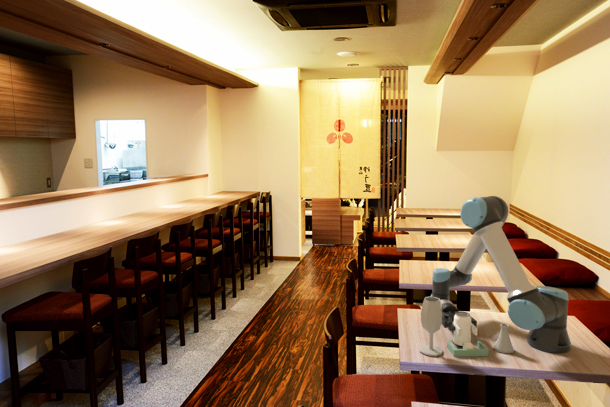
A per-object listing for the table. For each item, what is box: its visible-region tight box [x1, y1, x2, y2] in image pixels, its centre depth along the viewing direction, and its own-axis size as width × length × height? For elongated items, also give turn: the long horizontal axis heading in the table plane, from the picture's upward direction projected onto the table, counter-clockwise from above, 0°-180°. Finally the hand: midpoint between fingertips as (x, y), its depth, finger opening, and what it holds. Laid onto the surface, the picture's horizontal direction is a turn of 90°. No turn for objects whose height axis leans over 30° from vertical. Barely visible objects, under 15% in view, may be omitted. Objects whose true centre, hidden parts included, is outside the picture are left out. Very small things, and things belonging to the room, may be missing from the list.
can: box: [453, 310, 472, 347], centre depth 175 cm, size 6×6×12 cm
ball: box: [462, 342, 475, 349], centre depth 170 cm, size 4×4×4 cm
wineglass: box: [419, 296, 443, 357], centre depth 170 cm, size 9×9×21 cm
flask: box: [493, 323, 515, 354], centre depth 172 cm, size 7×7×10 cm
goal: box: [446, 340, 489, 358], centre depth 171 cm, size 8×13×2 cm, turn 91°
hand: (467, 332), depth 170 cm, fingers closed on can, 6 cm apart
